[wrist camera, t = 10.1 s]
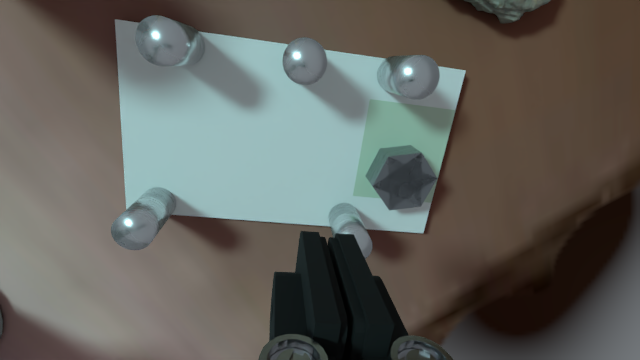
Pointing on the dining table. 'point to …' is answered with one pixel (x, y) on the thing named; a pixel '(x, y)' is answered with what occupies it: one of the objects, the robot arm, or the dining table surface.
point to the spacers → (302, 68)
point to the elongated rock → (507, 8)
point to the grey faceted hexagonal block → (401, 177)
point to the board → (271, 133)
